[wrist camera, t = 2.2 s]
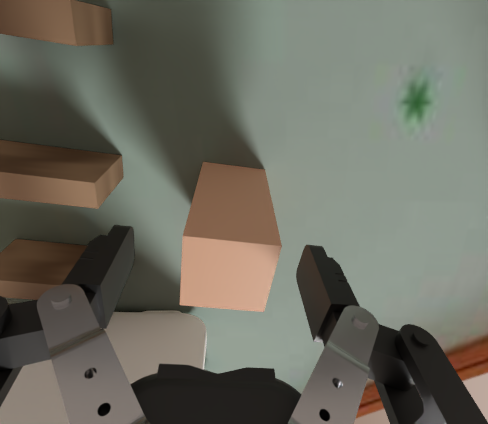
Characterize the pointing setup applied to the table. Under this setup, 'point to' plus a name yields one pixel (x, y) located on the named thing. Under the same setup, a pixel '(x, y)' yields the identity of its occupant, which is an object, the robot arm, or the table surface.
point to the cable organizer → (128, 352)
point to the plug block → (229, 240)
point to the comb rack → (51, 152)
